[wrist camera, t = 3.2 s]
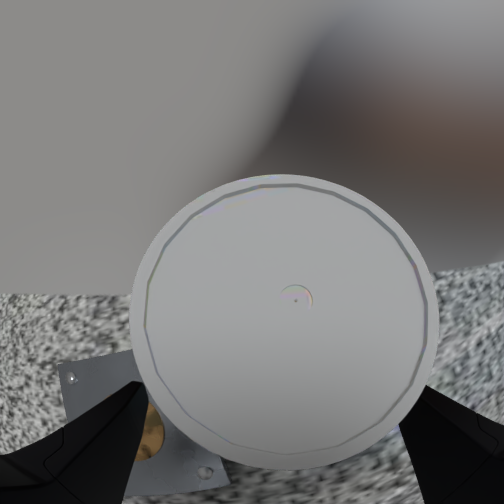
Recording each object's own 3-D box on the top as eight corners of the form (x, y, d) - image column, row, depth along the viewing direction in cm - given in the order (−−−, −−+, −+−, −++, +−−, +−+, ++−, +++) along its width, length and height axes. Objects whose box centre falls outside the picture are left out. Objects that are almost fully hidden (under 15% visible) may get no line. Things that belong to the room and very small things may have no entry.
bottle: (325, 346, 19) (456, 222, 6) (289, 435, 15) (396, 517, 2) (237, 312, 20) (214, 136, 7) (196, 396, 17) (53, 374, 4)
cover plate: (232, 479, 13) (230, 485, 12) (99, 491, 12) (90, 495, 10) (184, 340, 19) (180, 336, 18) (65, 366, 17) (56, 363, 16)
